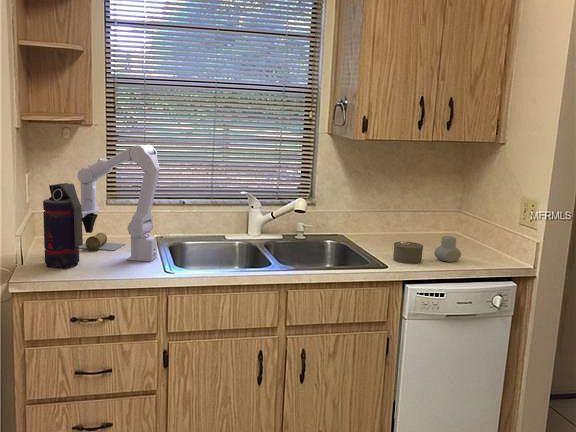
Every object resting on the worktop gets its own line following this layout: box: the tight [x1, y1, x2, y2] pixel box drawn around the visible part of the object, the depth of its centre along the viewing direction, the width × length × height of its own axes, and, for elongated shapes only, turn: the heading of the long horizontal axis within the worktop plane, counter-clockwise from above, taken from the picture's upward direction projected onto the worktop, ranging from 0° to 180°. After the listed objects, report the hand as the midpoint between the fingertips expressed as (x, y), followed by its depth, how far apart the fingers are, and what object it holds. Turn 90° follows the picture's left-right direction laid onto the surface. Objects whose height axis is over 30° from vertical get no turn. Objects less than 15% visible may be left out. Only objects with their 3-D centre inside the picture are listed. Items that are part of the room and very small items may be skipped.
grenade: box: [42, 182, 84, 270], centre depth 219 cm, size 14×12×30 cm
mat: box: [79, 242, 126, 252], centre depth 253 cm, size 16×12×1 cm
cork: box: [85, 232, 108, 252], centre depth 250 cm, size 6×6×11 cm
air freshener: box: [433, 235, 462, 263], centre depth 255 cm, size 11×8×10 cm
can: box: [392, 241, 424, 265], centre depth 252 cm, size 12×12×7 cm
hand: (89, 232), depth 240 cm, fingers closed
